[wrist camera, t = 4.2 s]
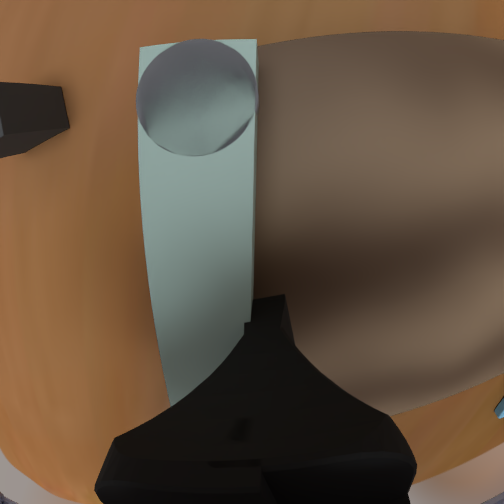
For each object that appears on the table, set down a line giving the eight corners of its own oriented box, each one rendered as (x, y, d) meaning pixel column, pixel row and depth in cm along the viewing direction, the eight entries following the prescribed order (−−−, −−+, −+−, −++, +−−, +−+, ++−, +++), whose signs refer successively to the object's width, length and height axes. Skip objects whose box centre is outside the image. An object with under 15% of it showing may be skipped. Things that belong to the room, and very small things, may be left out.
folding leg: (169, 65, 8) (138, 45, 6) (260, 61, 8) (258, 37, 5) (186, 376, 12) (173, 423, 10) (252, 380, 12) (249, 430, 9)
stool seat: (515, 333, 14) (536, 355, 12) (269, 404, 16) (269, 440, 14) (517, 55, 9) (550, 50, 6) (176, 85, 11) (155, 75, 8)
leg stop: (69, 127, 11) (3, 135, 7) (24, 152, 11) (-40, 168, 8) (61, 87, 10) (-5, 81, 6) (16, 114, 11) (-48, 121, 7)
